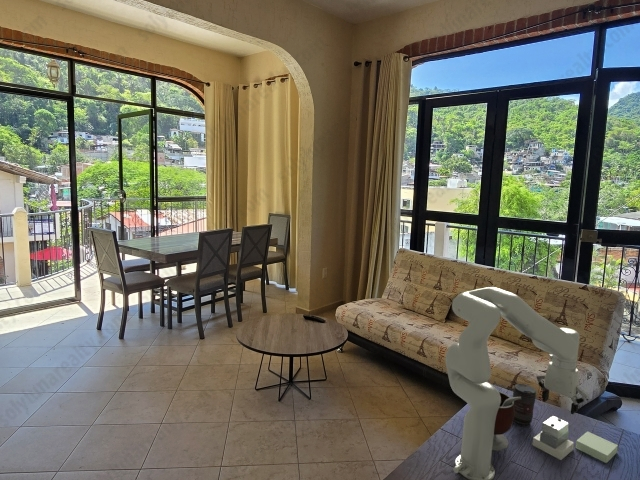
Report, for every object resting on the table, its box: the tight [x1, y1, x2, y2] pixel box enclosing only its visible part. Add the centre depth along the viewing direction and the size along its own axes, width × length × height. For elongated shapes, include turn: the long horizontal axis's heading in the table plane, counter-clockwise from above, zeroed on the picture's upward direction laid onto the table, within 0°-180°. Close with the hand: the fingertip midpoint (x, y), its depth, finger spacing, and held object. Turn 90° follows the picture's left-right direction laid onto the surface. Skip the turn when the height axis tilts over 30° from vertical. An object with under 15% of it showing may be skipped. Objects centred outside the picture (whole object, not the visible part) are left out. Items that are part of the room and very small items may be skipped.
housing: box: [540, 415, 570, 449], centre depth 150 cm, size 10×6×7 cm, turn 127°
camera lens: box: [512, 383, 537, 428], centre depth 166 cm, size 8×8×15 cm
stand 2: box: [575, 430, 619, 464], centre depth 150 cm, size 10×10×3 cm
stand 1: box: [532, 432, 575, 461], centre depth 151 cm, size 10×10×3 cm
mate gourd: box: [492, 390, 521, 452], centre depth 153 cm, size 16×14×20 cm
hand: (559, 406), depth 149 cm, fingers open, 9 cm apart
